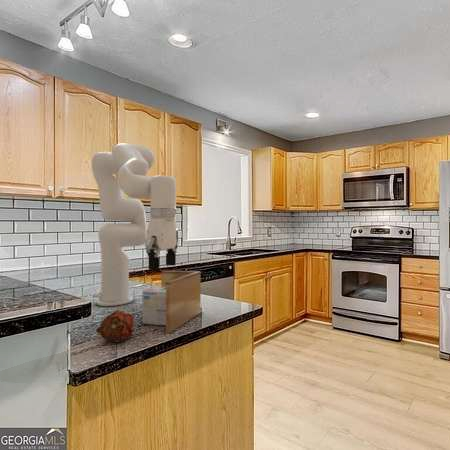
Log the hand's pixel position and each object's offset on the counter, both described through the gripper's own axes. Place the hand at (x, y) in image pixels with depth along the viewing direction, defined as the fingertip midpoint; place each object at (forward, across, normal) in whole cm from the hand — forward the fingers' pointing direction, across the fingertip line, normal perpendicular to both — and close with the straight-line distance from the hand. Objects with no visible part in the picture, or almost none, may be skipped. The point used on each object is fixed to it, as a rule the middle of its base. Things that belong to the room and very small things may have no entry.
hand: (162, 267), depth 104 cm
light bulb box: (+18, 0, +1) cm, 18 cm away
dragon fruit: (+18, +16, -4) cm, 24 cm away
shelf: (+18, -1, 0) cm, 18 cm away
